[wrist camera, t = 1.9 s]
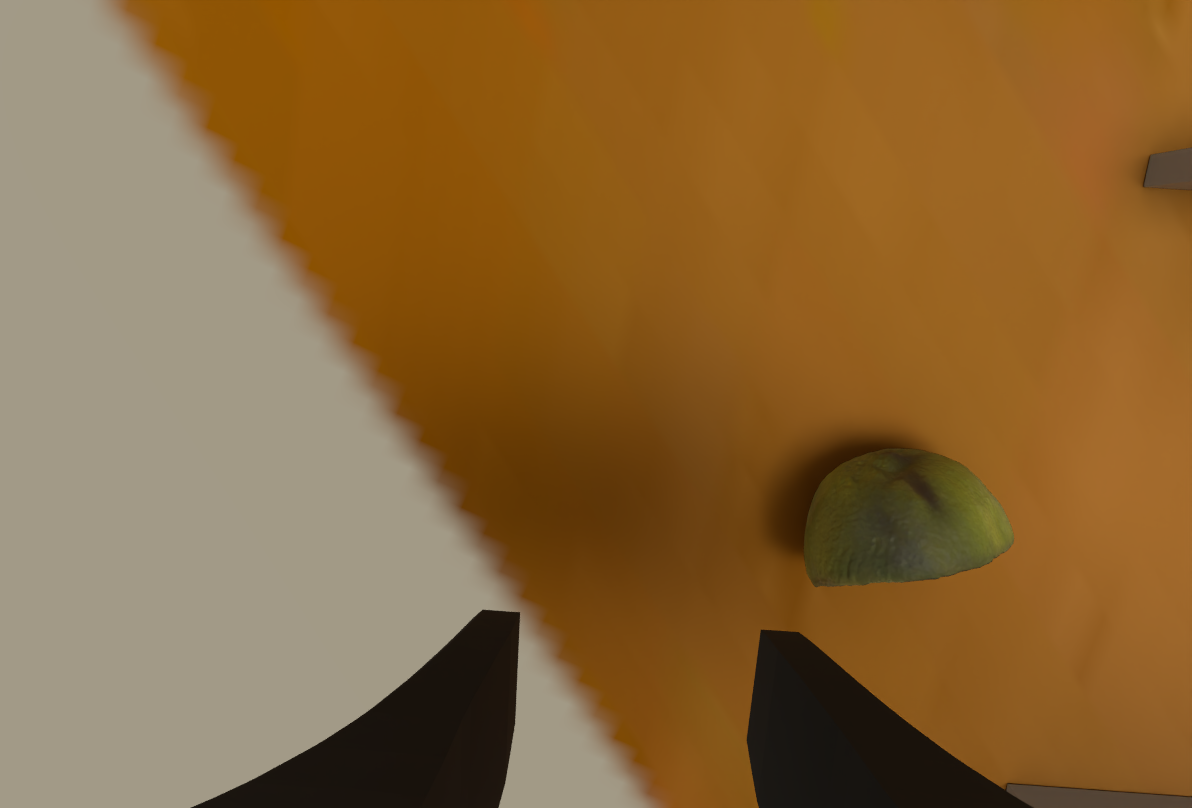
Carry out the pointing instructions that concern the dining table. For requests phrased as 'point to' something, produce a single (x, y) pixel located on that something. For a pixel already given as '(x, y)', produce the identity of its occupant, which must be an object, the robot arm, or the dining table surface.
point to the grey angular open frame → (1080, 804)
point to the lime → (901, 520)
